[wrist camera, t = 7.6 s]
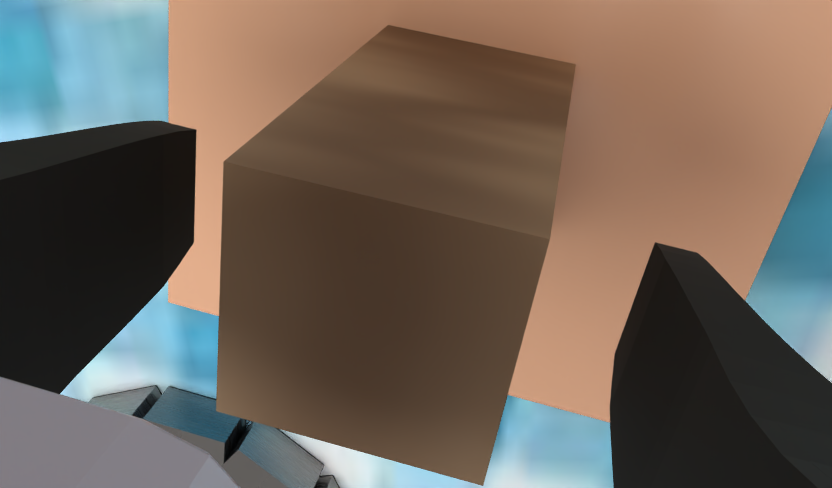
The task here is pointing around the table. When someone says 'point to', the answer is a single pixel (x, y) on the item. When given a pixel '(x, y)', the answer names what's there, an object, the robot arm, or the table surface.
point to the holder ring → (224, 438)
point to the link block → (392, 249)
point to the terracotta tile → (583, 147)
